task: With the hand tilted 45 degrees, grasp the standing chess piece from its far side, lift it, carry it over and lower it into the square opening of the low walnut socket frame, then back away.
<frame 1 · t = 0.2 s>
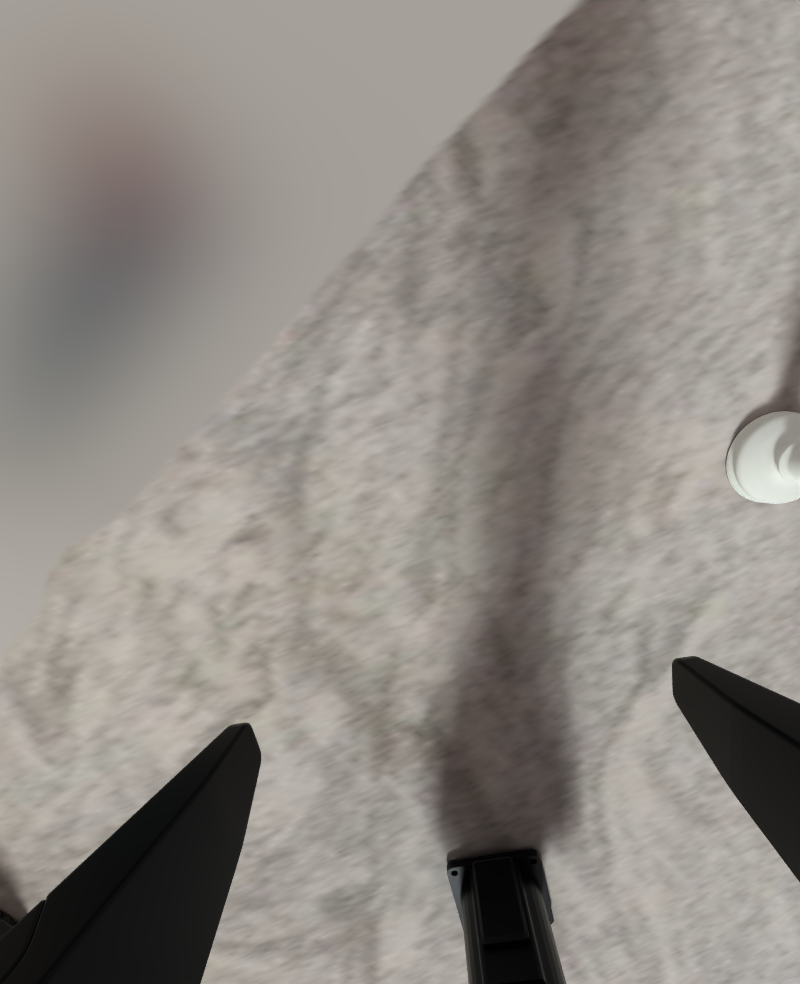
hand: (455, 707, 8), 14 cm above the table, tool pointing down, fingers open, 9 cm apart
chess piece: (769, 457, 21), on the table
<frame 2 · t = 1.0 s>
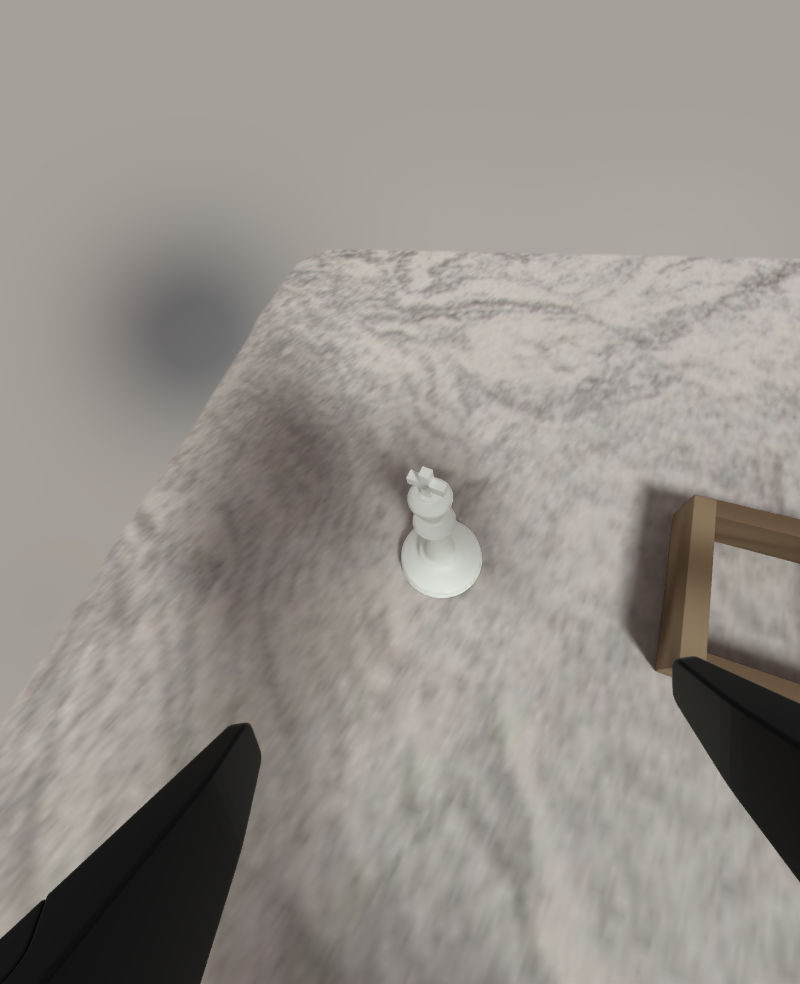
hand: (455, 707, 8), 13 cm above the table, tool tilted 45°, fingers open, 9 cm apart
socket frame: (765, 616, 20), on the table
chess piece: (441, 558, 24), on the table
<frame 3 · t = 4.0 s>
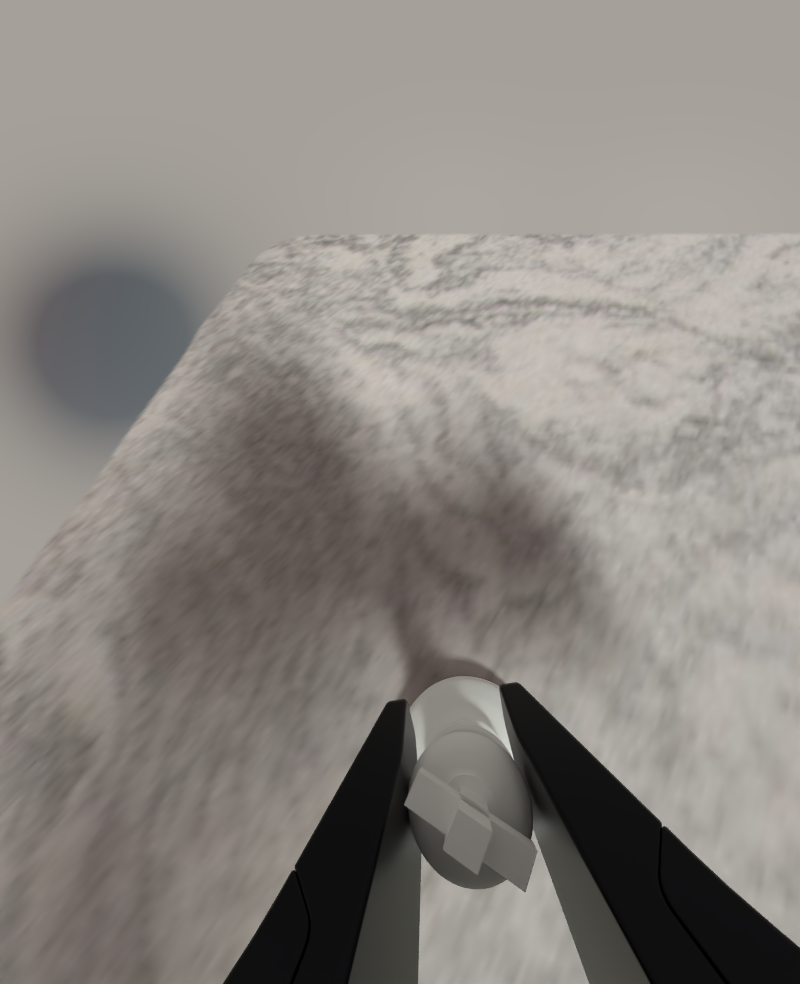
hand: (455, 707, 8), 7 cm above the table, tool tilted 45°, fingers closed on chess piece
chess piece: (469, 755, 13), on the table, touching gripper
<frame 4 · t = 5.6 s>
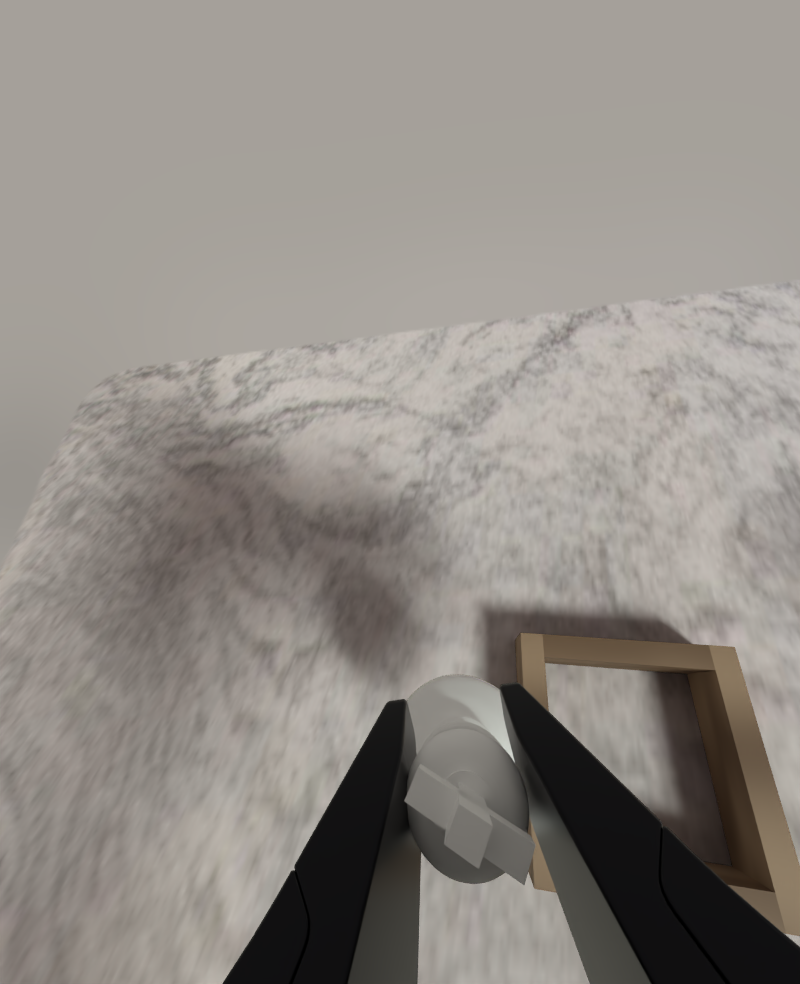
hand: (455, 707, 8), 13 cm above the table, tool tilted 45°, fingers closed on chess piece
socket frame: (621, 751, 18), on the table
chess piece: (461, 753, 13), point 6 cm above the table, touching gripper
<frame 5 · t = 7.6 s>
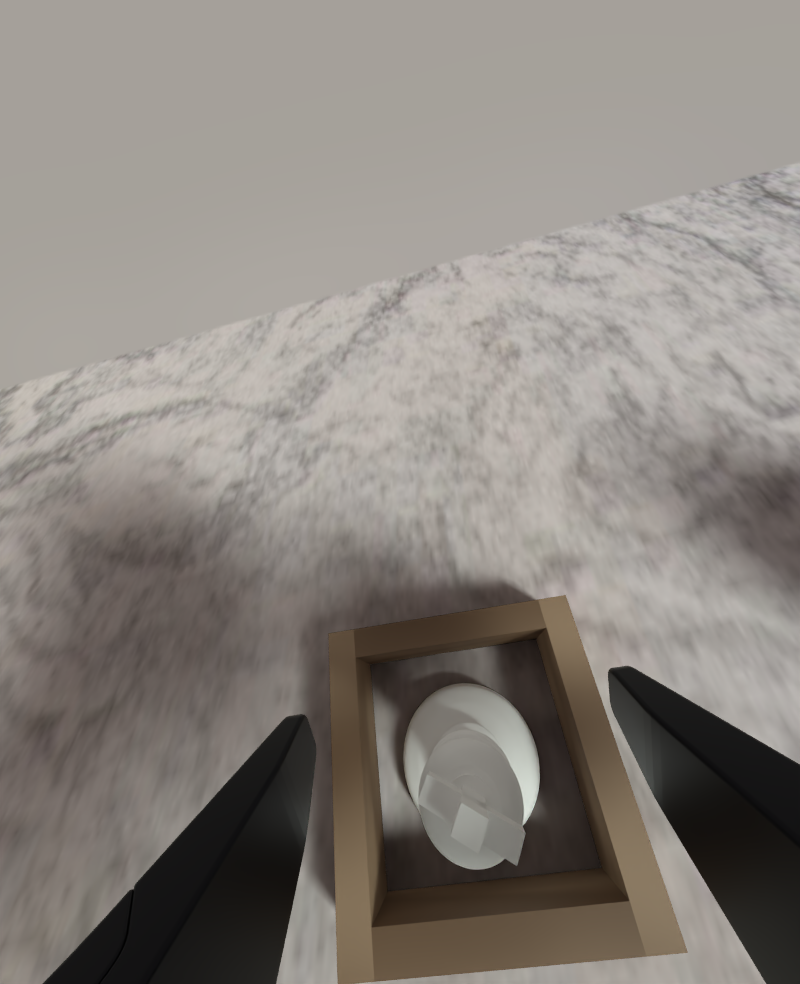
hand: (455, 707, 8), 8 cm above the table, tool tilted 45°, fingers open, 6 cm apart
socket frame: (469, 751, 14), on the table
chess piece: (469, 756, 14), resting in socket frame
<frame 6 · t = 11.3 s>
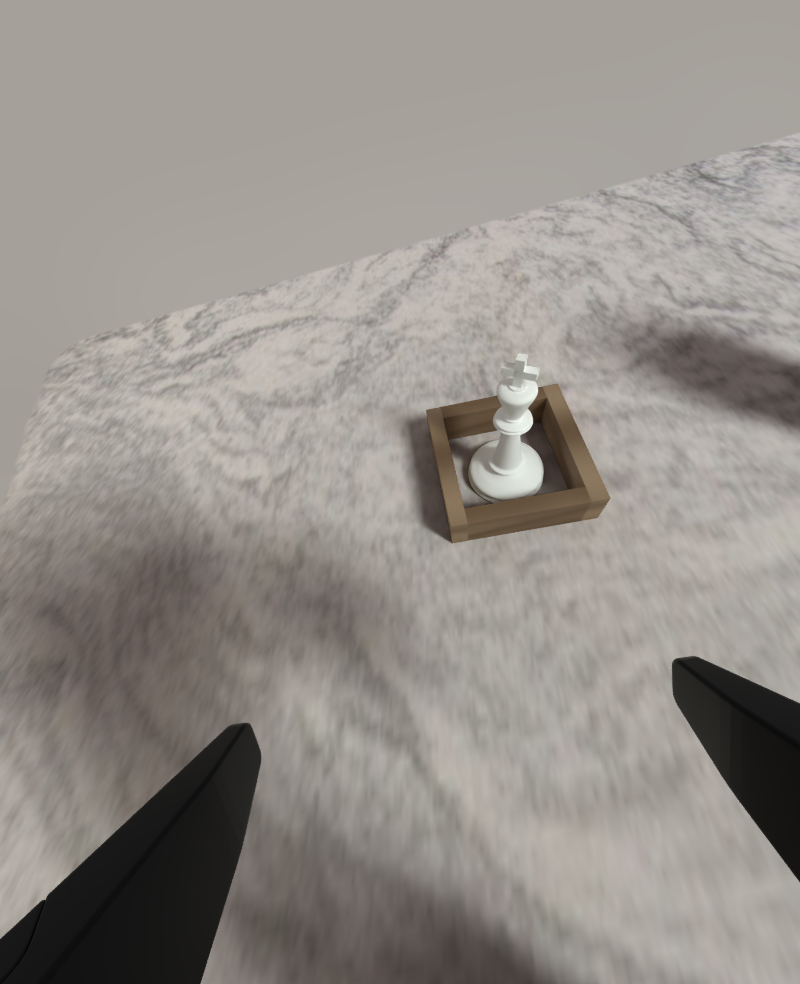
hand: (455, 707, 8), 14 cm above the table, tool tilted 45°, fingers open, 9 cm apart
socket frame: (505, 470, 26), on the table
chess piece: (504, 474, 26), resting in socket frame
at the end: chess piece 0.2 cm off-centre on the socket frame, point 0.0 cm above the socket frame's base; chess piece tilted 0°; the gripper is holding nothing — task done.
